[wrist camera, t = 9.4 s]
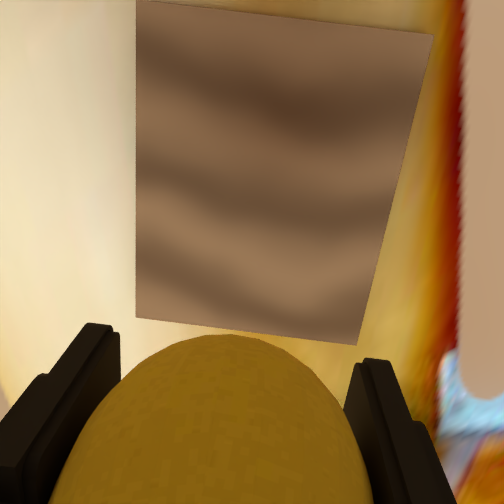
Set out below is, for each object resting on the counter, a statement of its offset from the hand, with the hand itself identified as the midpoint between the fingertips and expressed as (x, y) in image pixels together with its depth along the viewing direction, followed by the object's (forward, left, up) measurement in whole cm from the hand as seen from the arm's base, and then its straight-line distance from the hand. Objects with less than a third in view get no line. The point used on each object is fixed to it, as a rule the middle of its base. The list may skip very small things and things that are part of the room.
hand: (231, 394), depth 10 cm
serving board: (0, 0, -19) cm, 19 cm away
